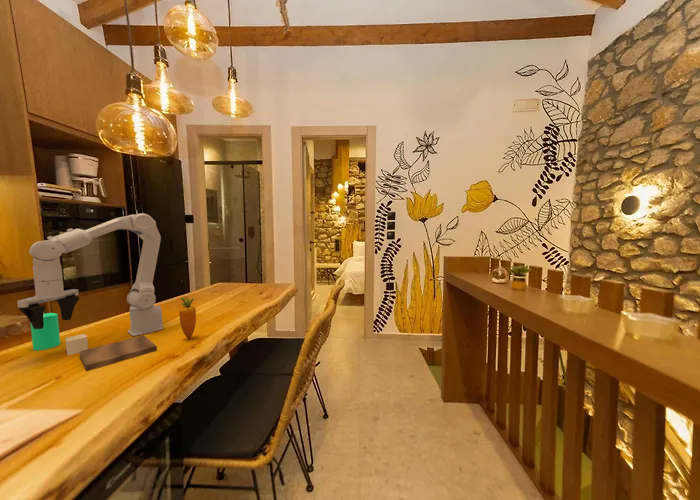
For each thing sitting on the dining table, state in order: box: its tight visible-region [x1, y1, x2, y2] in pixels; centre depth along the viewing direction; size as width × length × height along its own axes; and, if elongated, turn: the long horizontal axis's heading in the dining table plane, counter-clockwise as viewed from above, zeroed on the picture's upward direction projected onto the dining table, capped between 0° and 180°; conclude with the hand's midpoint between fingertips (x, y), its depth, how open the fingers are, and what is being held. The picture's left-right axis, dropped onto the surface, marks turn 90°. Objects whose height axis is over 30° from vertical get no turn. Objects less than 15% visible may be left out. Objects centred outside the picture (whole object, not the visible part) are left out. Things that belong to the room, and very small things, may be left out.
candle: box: [29, 312, 61, 351], centre depth 89 cm, size 6×6×12 cm
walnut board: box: [78, 334, 158, 372], centre depth 83 cm, size 16×14×2 cm
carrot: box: [178, 296, 197, 340], centre depth 93 cm, size 5×5×15 cm
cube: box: [64, 333, 89, 356], centre depth 85 cm, size 4×4×4 cm
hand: (53, 324), depth 83 cm, fingers open, 7 cm apart
